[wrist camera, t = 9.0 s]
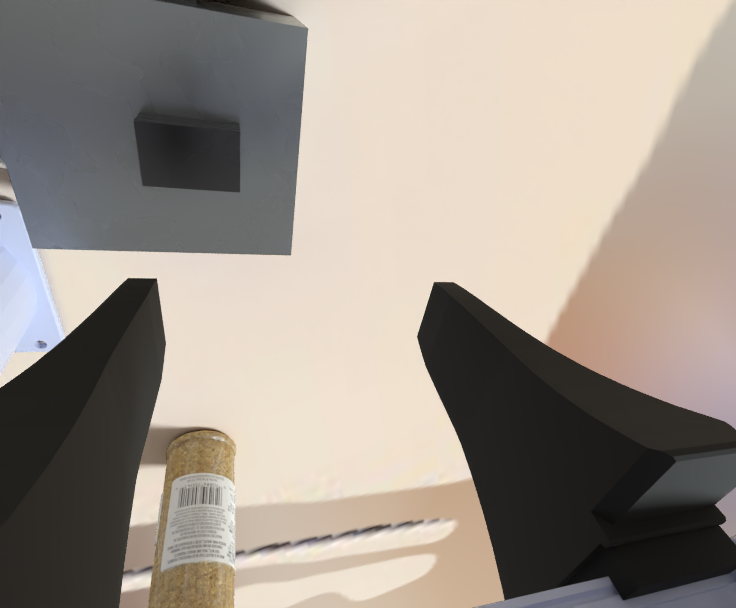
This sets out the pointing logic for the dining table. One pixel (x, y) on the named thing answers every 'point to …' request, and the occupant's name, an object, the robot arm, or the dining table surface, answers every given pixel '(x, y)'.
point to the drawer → (152, 124)
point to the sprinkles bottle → (196, 525)
